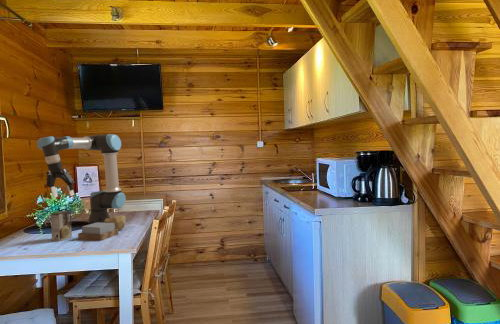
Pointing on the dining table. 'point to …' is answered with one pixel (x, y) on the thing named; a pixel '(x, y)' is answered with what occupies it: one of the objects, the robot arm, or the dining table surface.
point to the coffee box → (61, 226)
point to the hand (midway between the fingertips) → (63, 196)
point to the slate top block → (98, 228)
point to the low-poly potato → (117, 222)
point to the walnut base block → (97, 235)
